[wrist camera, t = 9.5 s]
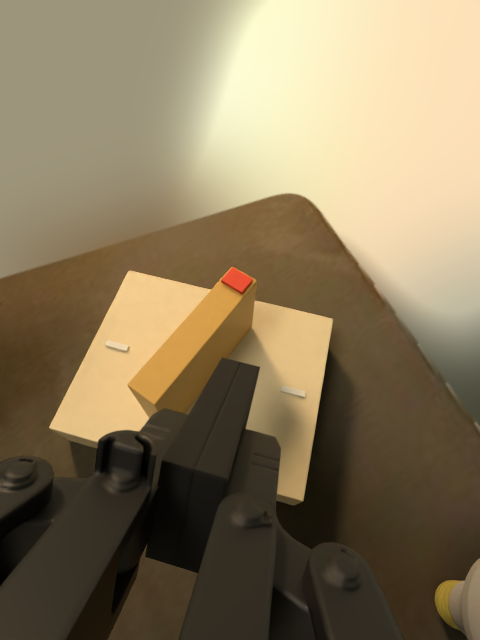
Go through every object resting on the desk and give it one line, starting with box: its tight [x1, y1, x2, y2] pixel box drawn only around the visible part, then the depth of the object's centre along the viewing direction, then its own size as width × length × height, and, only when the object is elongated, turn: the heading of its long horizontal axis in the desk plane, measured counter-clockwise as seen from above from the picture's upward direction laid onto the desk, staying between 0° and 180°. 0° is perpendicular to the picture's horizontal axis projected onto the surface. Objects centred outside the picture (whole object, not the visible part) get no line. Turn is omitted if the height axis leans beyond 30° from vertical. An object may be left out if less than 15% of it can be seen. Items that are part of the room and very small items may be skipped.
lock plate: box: [49, 271, 333, 506], centre depth 24 cm, size 14×12×3 cm
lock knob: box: [127, 267, 257, 417], centre depth 20 cm, size 8×2×5 cm, turn 145°
